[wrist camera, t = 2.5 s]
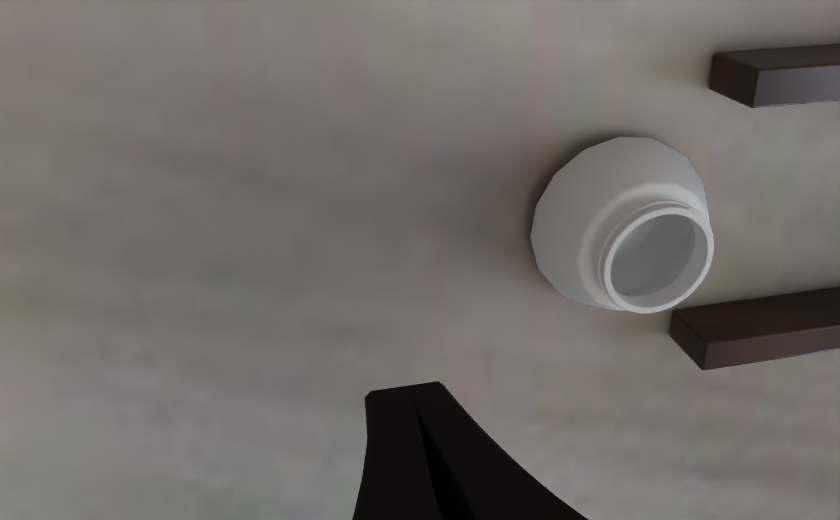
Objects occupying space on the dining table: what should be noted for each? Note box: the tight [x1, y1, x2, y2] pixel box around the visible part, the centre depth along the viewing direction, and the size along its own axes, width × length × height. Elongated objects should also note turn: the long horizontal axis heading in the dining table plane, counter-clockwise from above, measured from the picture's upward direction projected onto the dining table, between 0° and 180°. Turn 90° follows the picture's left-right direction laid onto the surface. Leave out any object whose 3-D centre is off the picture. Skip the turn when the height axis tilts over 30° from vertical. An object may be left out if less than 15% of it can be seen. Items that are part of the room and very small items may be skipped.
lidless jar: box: [530, 137, 714, 313], centre depth 20 cm, size 5×3×5 cm
